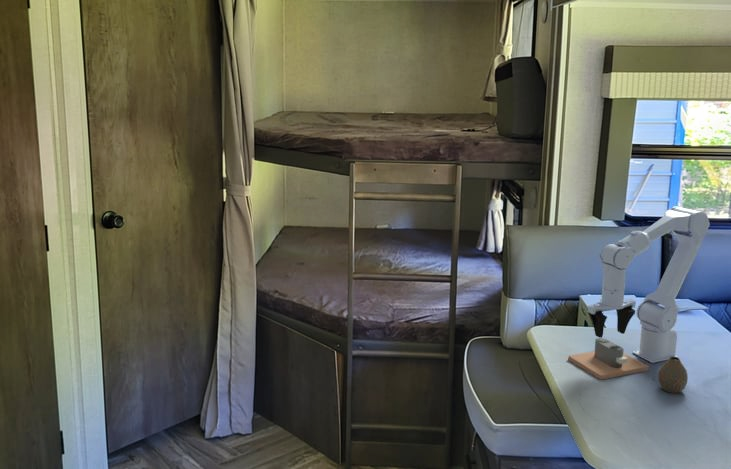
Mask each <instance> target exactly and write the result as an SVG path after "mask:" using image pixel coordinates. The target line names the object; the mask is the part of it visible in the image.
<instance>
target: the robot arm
mask: <svg viewBox="0 0 731 469" xmlns="http://www.w3.org/2000/svg"><path fill="white" fill-rule="evenodd" d="M710 226H711V224H710V220H709V216H708V215H707V213H706V212H704V211H702V210H700V211H699V210H694V209H689V208H685V207H682V206H679V205H676V206H672V207H671V208H670V209H668V210H666V211H665V212H664V215H663V216H662V217H661V218H659V219H658V220H657V221H655V222H653V224H651V225H650V226H649V227H647V228H646V229H645V230H643V231H642V230H641V231H640V230H632V231H631V232H630V234H629V235H627V236H625V237H624V238H622V239H620V240H618V241H617V242H616V243H610V244H607V245H605V246H604V247H603V248H602V250H601V252H600V253H599V254H598V256H599V260H600V262H601V264H602V266H601V268H602V270H603V271H602V272H603V273H602V284H601V286H602V287H601V298H600V299H599V301H598V302H595V303H594V304H593V303H592V304H590V305H587V307H588V308H587V315H588V316H589V317H590V321H591V322H592V325H593V330H594V334H595V335H594V336H596V337H598V338H603V335H604V329H605V328H604V327H605V324H606V321H607V318H608V316H607V315H604V312H609V311H615V310H616V317H617V321H616V322H617V325H616V326H617V327H616V328H617V329H616V330H617V332H618V333H620V334H622V335H623V334H625V333H626V330H627V328H628V324H629V323H630V321H631V319H632V318H633V317H634V315H635V314H636V318H637V320H639V325H641V331H640V339H639V340H640V342H639V349H638V350H633V351H632V354H634V355H636V356H637V357H640V358H642V359H643V360H646V361H647V362H649V363H651V364H654V363H659V362H666V361H667V360H668V359H669V358H670V357H678V356H677V355H676V352H677V351H676V350H677V342H678V340H677V339H678V333H677V331H676V329H675V328H674V327H675V326H676V323H677V320H678V313H679V312H680V307H679V306H678V304H677V303H676V298H677V296H678V293H679V292H680V289H681V288H682V285H683V283H684V281H685V279H686V277H687V275H688V273H689V271H690V269H691V267H692V265H693V262H694V261H695V260H696V259H695V258H696V256H697V254H698V252H699V250H700V247H701V246H702V243H703V239H704V238H705V236H706V234H707V231H708V230H709V227H710ZM670 232H672V233H673V234H674V235H675V237H676V238H677V241H678V244H677V246H676V248H675V250H674V252H673V255H672V256H671V259H669V260H670V261H669V263H668V265H667V266H666V268H665V271H664V273H663V275H662V278H661V279H660V281H659V283H658V286H657V287H656V290H655V291H654V292H652V293H649V294H647V295H645V298H644V299H643V300H642V302H640V304H639V305H638V306H637V309H636V310H635V309H634V308H636V303H637V302H636V300H635V299H632V298H628V299H625V287H626V286H625V285H626V272H627V268H629V266H630V265H631V263H632V261H633V260H634V259H635V258H636V256H638V255H640V254H641V253H643V252H645V251H647V250H648V249H649V248H650V247H651V242H653V241H655V240H657V239H659V238H660V237H661V238H662V236H664V235H666V234H668V233H670ZM661 305H662V306H661Z"/></svg>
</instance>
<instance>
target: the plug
mask: <svg viewBox="0 0 731 469" xmlns="http://www.w3.org/2000/svg"><path fill="white" fill-rule="evenodd" d="M594 344H595V345H594V351H595V353H594V357H595V358H597V359H598V360H600V361H602V362H604V363H605V364H607V365H609V366H611V367H613V368H621V367H622V363H627V359H628V358H626V357H624V356H623V353H624V350H625V349H624V348H623V347H622V346H620V345H618V344H617V343H614V342H613V341H611V340H609V339H606V338H603V337H602V338H599V337H598V338H596V339H595V342H594Z"/></svg>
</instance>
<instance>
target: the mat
mask: <svg viewBox="0 0 731 469" xmlns="http://www.w3.org/2000/svg"><path fill="white" fill-rule="evenodd" d="M594 353H595V350H593V351H587V352H581V353H577V354H570V355H568V361H570V362H571V363H573V364H575V365H576V366H578V367H579V368H581V369H582V370H584V371H586V372H587V373H589V374H591V375H592V376H594V377H596V378H598V380H606V379H610V378H615V377H616V378H617V377H621V376H626V375H631V374H636V373H641V372H646V371H649V365H647V364H645V363H643V362H642V361H639V359H638V360H637V359H636V358H634V357H632V356H631V355H629V354H628V353H625V352H623V356H624V357H626V358H628V359H627V363H622V367H621V368H613V367H611V366H609V365H607V364H605V363H604V362H602V361H600V360H598V359H597V358H595V357H594Z"/></svg>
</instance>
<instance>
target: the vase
mask: <svg viewBox="0 0 731 469" xmlns="http://www.w3.org/2000/svg"><path fill="white" fill-rule="evenodd" d="M657 377H658V378H657V379H658V383H659V386H660V388H662V389H663V390H664V391H665V392H668V393H671V394H678V393H680V392H682V391H683V390H684V389H685V388H686V386H687V385H688V371H687V369H686V367H685V366H684V364H683V363H682V361H681V359H680V357H678V356H677V357H670V358H669V359H668V360H665V361H664V363H663V364H662V365H661V366H660V367H659V370H658V373H657Z"/></svg>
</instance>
